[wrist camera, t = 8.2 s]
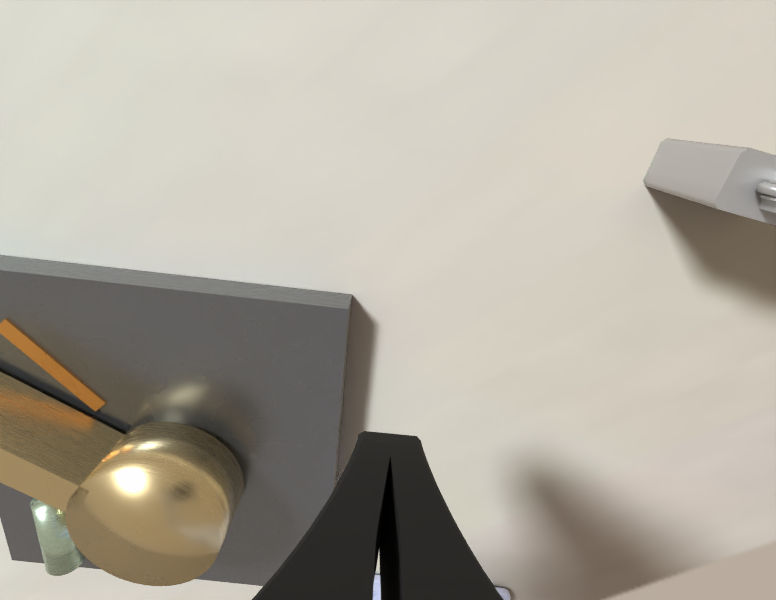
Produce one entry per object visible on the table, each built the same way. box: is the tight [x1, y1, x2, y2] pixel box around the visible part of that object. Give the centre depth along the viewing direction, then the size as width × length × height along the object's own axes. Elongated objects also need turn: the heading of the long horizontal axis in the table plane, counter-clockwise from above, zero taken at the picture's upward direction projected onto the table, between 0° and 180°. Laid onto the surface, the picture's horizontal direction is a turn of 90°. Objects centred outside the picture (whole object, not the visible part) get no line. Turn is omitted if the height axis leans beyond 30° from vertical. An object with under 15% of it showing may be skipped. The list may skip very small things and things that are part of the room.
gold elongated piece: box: [0, 372, 244, 586], centre depth 19 cm, size 14×6×3 cm, turn 56°
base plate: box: [0, 255, 352, 586], centre depth 21 cm, size 16×16×3 cm
